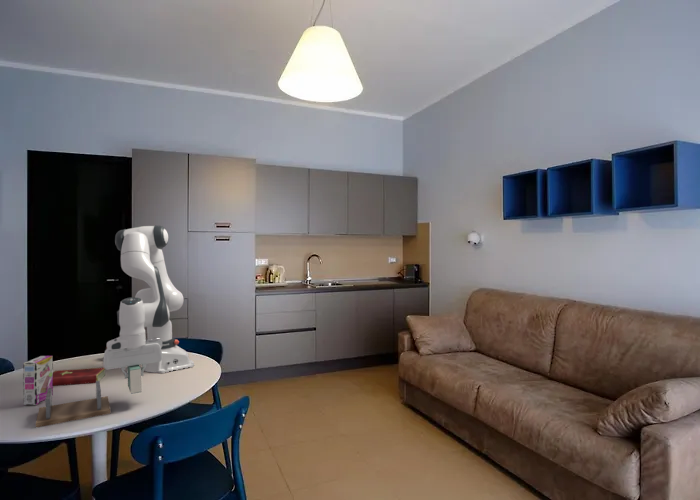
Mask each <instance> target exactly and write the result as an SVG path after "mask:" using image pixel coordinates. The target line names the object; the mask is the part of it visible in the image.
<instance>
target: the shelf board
mask: <svg viewBox="0 0 700 500" xmlns="http://www.w3.org/2000/svg"><path fill="white" fill-rule="evenodd" d="M110 414H111V405H110V400H109V395H105V396H101V410H97V401H96V397H94V398H89V399H83V400H77V401H72V402H71V401H70V402H65V403H59V404H52V412H51V418H50V419H48V420H46V406H41V407H39V408H38V412H37V415H36V420H35V428H36V427H37V428H40V427H48V426H51V425H52V426H53V425H58V424H63V423H68V422H71V421H78V420H83V419H84V420H85V419H89V418H95V417H99V416H104V415H105V416H106V415H110Z"/></svg>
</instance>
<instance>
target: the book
mask: <svg viewBox="0 0 700 500" xmlns="http://www.w3.org/2000/svg"><path fill="white" fill-rule="evenodd" d="M141 369H142V367H141V366H140V365H135V366H128V367H127V372H129V378H127V386H128V389H129V393H130V394H131V395H132V394H138V393H142V376H141ZM127 372H126V373H127Z"/></svg>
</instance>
